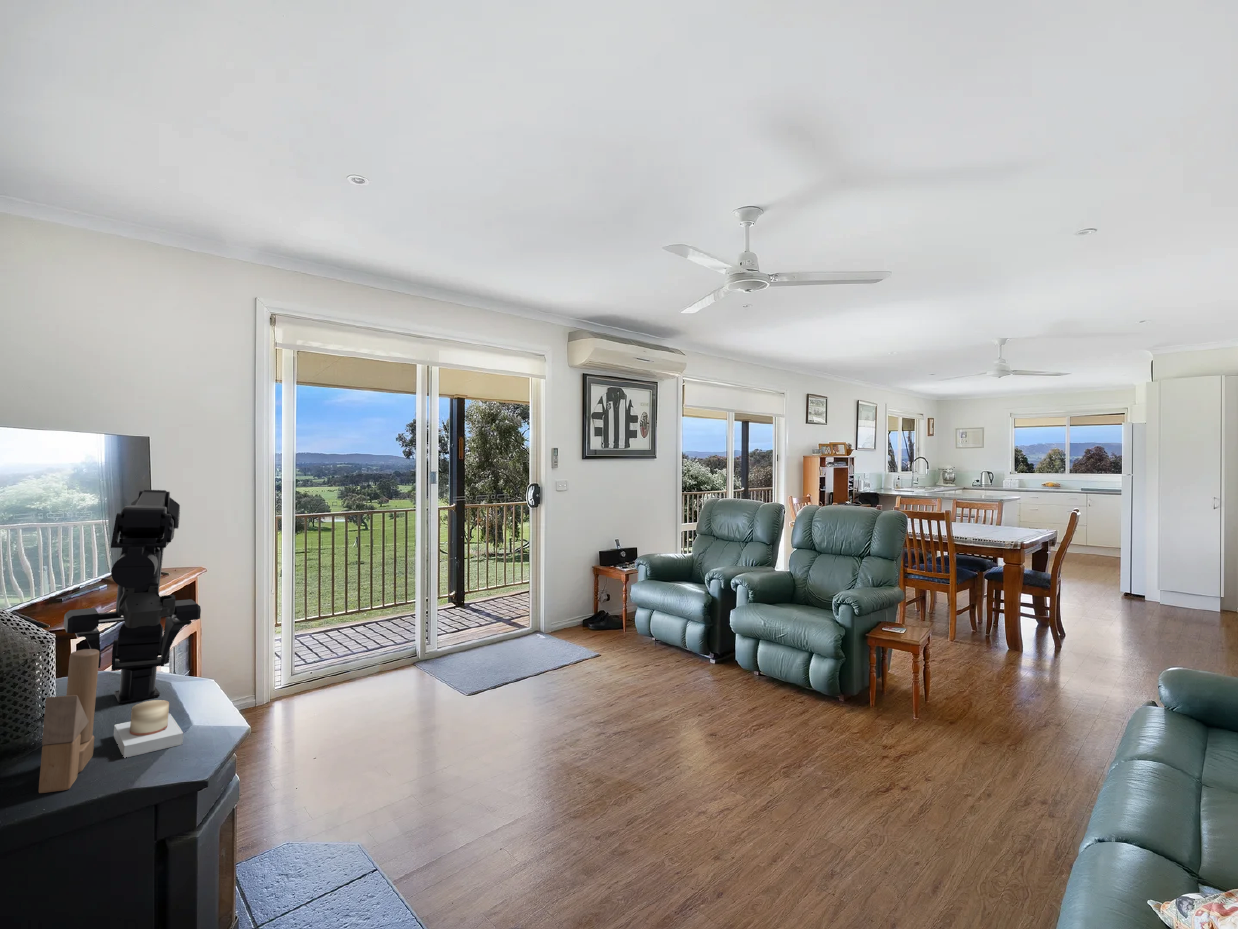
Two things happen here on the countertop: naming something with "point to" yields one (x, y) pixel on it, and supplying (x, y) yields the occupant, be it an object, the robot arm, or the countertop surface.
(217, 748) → the countertop surface
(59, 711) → the wooden block
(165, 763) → the countertop surface
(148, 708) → the peg
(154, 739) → the board
